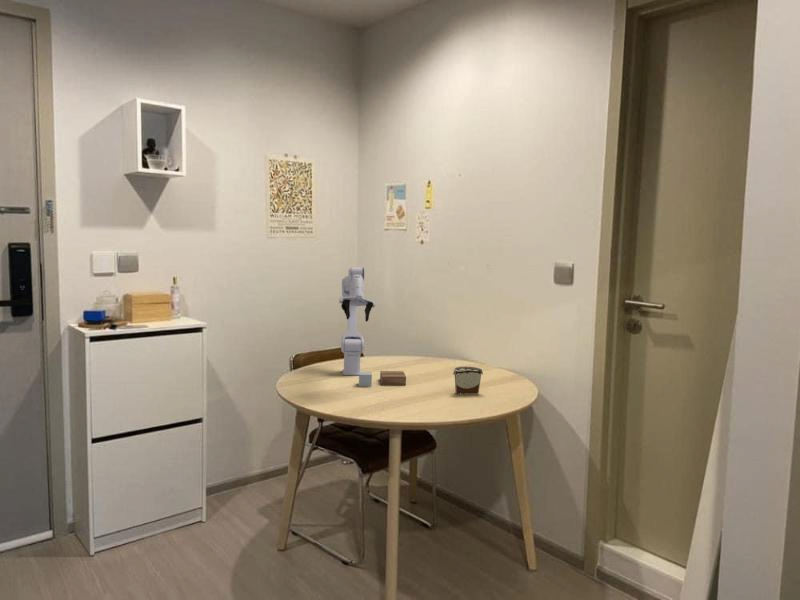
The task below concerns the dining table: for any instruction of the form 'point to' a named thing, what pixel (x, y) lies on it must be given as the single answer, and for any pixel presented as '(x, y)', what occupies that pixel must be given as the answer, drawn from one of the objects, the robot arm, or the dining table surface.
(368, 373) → the gray cube
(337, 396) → the dining table surface
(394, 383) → the walnut block
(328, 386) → the dining table surface
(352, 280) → the robot arm
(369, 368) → the dining table surface
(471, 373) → the food container
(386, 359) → the dining table surface
